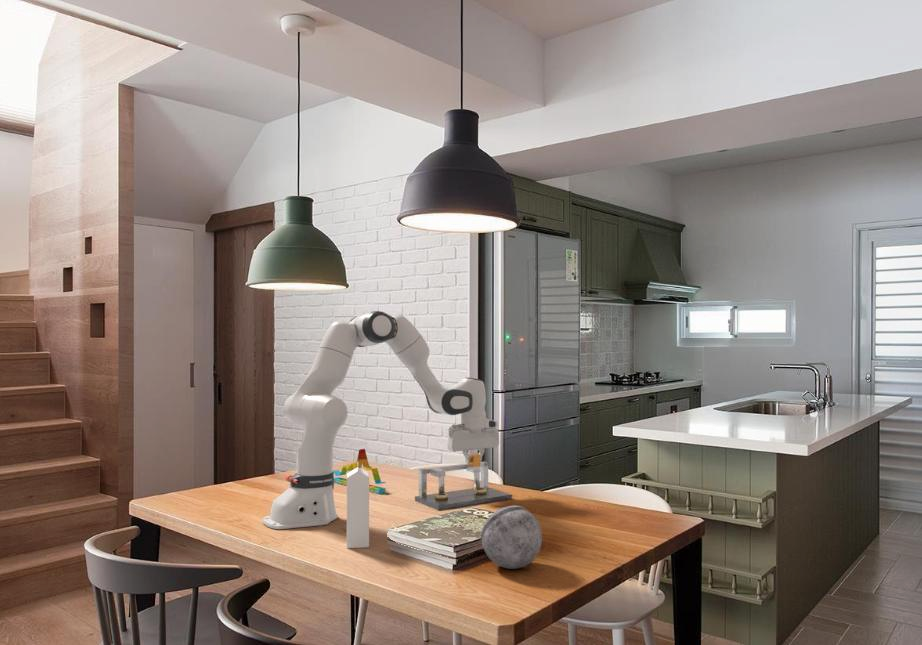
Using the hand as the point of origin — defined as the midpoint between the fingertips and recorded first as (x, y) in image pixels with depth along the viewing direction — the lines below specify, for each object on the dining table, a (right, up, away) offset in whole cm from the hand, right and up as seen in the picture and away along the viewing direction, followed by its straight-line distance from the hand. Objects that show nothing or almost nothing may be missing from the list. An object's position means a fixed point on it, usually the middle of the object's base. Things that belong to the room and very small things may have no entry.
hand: (473, 461), depth 246 cm
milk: (-33, -11, -58) cm, 68 cm away
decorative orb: (+8, -11, -77) cm, 78 cm away
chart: (-44, -13, +16) cm, 49 cm away
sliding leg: (0, -9, -1) cm, 9 cm away
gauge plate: (-4, -12, -5) cm, 14 cm away
